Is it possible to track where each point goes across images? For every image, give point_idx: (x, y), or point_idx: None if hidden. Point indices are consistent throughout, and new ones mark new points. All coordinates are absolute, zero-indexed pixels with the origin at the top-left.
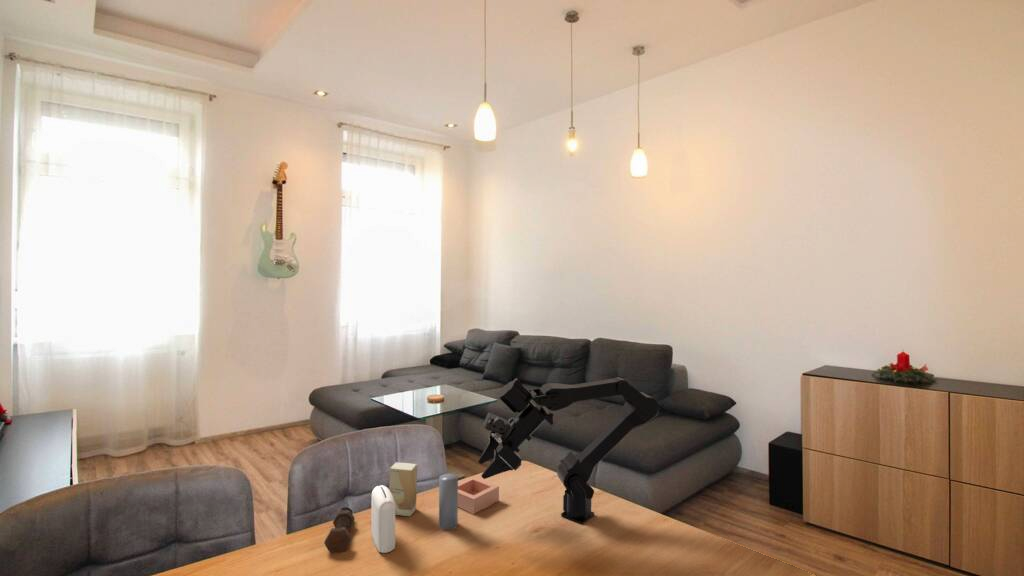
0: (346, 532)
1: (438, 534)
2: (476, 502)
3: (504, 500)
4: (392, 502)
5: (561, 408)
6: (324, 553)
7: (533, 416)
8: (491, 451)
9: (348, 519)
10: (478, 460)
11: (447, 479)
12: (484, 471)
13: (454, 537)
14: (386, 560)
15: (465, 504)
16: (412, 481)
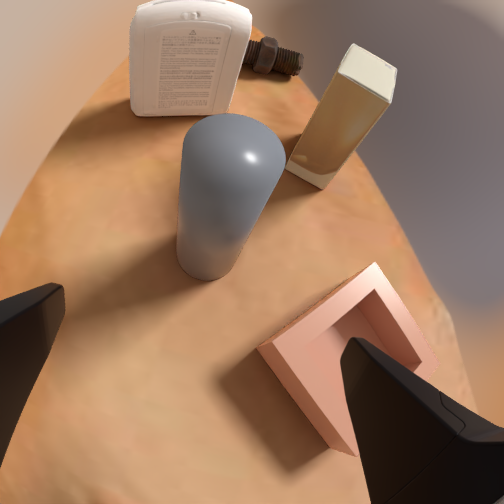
0: None
1: (162, 214)
2: (275, 356)
3: (327, 466)
4: (135, 19)
5: None
6: None
7: None
8: (398, 454)
9: (252, 51)
10: (361, 338)
11: (210, 138)
12: (31, 295)
13: (128, 252)
14: (107, 104)
15: (294, 321)
16: (329, 108)
